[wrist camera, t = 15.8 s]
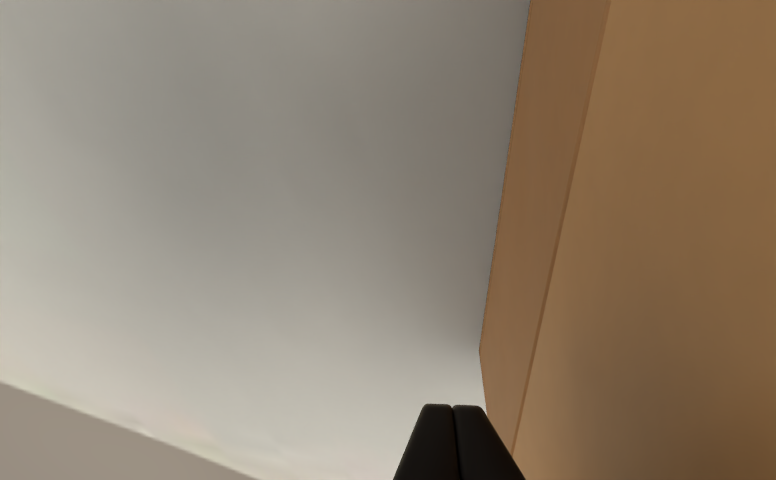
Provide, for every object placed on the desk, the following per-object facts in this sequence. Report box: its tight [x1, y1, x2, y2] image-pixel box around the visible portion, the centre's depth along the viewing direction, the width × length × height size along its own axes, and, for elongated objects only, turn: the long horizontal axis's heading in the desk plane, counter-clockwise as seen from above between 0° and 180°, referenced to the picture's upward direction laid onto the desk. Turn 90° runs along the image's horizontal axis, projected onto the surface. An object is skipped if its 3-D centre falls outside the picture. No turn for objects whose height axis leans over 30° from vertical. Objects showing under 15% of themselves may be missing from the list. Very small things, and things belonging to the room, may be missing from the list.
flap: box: [513, 0, 776, 480], centre depth 9 cm, size 8×16×1 cm
